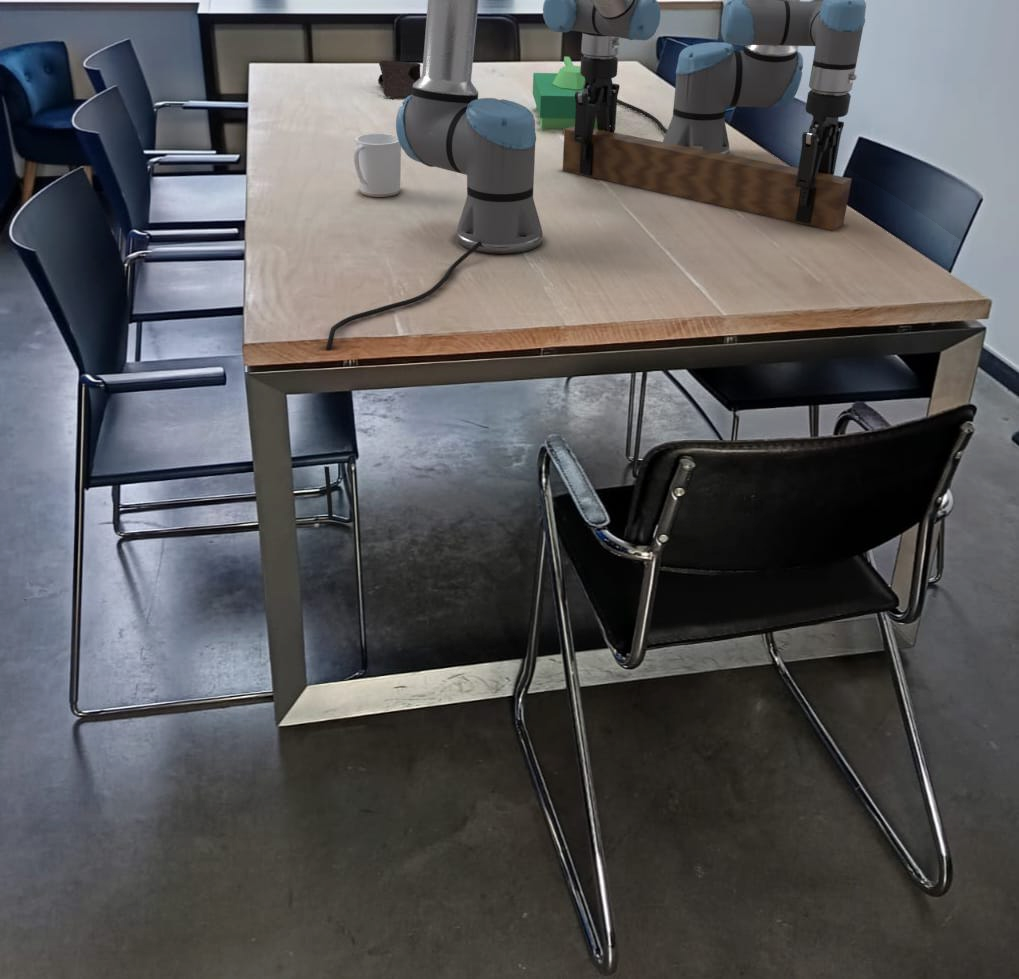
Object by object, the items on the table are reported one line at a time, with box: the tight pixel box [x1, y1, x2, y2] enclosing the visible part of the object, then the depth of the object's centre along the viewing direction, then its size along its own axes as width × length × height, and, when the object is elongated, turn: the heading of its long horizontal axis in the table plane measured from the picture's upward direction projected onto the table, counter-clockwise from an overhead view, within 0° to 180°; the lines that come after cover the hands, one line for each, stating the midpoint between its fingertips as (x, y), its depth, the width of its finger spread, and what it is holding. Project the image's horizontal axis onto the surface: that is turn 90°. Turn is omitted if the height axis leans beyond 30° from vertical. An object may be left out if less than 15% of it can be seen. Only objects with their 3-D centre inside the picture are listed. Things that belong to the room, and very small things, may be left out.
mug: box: [352, 132, 402, 198], centre depth 216 cm, size 11×9×10 cm
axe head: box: [377, 59, 421, 99], centre depth 299 cm, size 18×8×15 cm
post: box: [562, 126, 853, 232], centre depth 219 cm, size 62×5×9 cm, turn 53°
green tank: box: [532, 56, 612, 131], centre depth 275 cm, size 18×12×35 cm
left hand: (592, 171), depth 234 cm, fingers closed on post, 5 cm apart
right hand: (808, 218), depth 209 cm, fingers closed on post, 5 cm apart
